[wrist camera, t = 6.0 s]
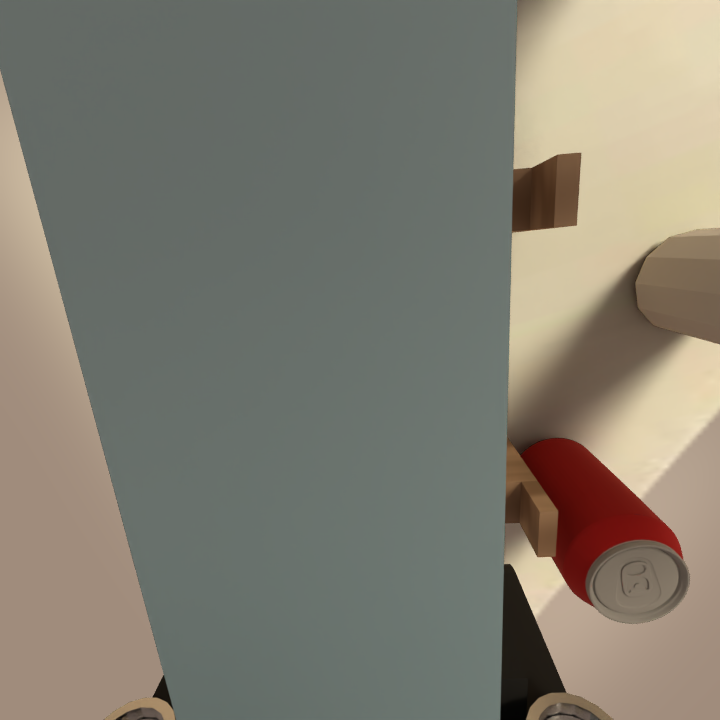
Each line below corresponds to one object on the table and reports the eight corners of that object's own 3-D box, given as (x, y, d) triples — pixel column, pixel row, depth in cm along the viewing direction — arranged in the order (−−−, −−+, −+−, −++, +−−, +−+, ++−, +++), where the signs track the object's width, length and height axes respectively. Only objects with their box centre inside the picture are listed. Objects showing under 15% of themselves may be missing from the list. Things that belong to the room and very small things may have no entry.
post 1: (403, 189, 28) (419, 154, 18) (507, 180, 28) (588, 139, 17) (406, 248, 29) (422, 248, 19) (506, 240, 29) (581, 236, 18)
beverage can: (515, 512, 35) (584, 642, 23) (501, 443, 33) (568, 547, 22) (595, 495, 34) (707, 622, 23) (585, 424, 32) (700, 522, 21)
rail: (164, -180, 5) (-343, -1192, 2) (424, -218, 5) (551, -1483, 1) (337, 936, 12) (319, 1248, 9) (452, 939, 12) (487, 1260, 8)
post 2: (413, 424, 33) (431, 508, 22) (503, 420, 33) (563, 503, 22) (415, 468, 34) (432, 567, 24) (502, 464, 34) (559, 563, 23)
